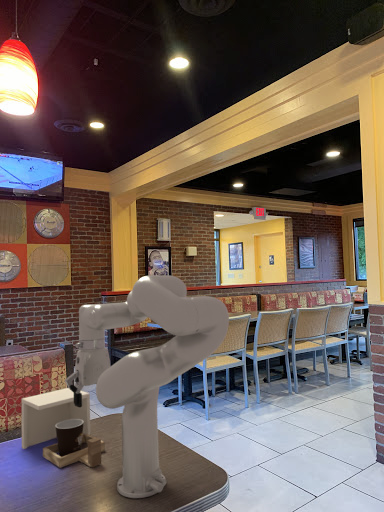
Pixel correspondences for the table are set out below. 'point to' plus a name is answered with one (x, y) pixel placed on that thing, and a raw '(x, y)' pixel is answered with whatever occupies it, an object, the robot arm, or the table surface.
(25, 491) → the table surface
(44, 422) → the cream open box
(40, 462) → the table surface
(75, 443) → the coffee mug
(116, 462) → the table surface
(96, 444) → the wooden drawer
